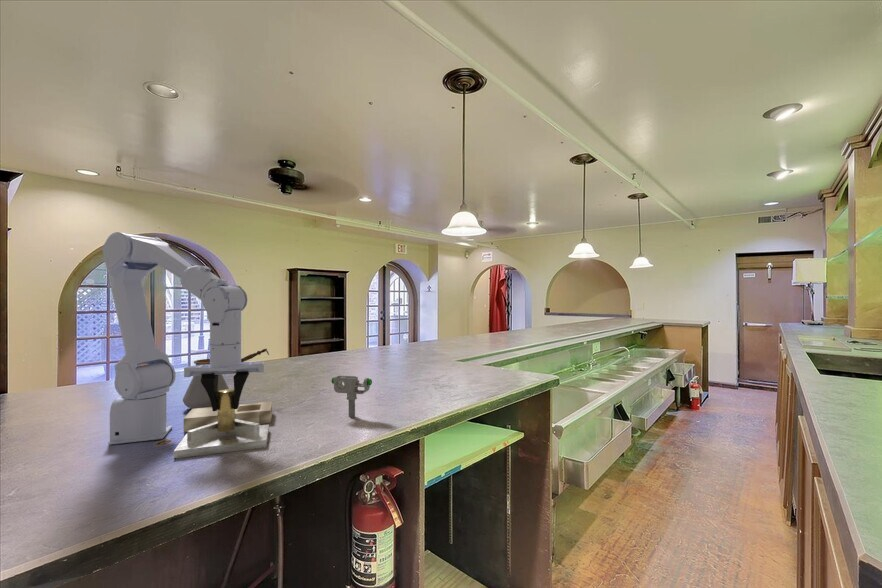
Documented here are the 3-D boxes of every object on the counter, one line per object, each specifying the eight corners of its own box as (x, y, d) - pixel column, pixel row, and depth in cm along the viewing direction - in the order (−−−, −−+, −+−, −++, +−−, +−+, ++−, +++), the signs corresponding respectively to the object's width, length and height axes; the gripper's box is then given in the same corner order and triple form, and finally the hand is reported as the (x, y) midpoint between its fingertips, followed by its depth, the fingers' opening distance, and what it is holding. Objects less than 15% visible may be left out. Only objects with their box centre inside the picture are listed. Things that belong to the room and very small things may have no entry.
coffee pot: (182, 416, 100) (182, 357, 100) (182, 405, 110) (182, 351, 110) (272, 403, 112) (272, 350, 112) (265, 394, 121) (265, 346, 121)
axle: (215, 432, 81) (215, 394, 80) (219, 426, 84) (219, 389, 83) (233, 431, 82) (232, 393, 81) (236, 425, 85) (236, 388, 84)
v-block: (173, 458, 75) (173, 437, 75) (187, 440, 84) (187, 421, 84) (266, 447, 80) (266, 427, 80) (269, 431, 90) (269, 413, 89)
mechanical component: (368, 419, 97) (368, 379, 97) (330, 417, 99) (330, 377, 99) (372, 416, 100) (372, 377, 100) (335, 413, 102) (335, 375, 102)
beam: (183, 431, 89) (183, 418, 89) (192, 421, 96) (192, 408, 96) (270, 422, 95) (270, 410, 95) (272, 413, 103) (272, 401, 103)
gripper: (179, 347, 76) (179, 418, 76) (262, 344, 81) (262, 410, 81) (188, 343, 82) (189, 408, 82) (264, 340, 87) (264, 401, 87)
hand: (225, 408), depth 82 cm, fingers closed on axle, 3 cm apart
